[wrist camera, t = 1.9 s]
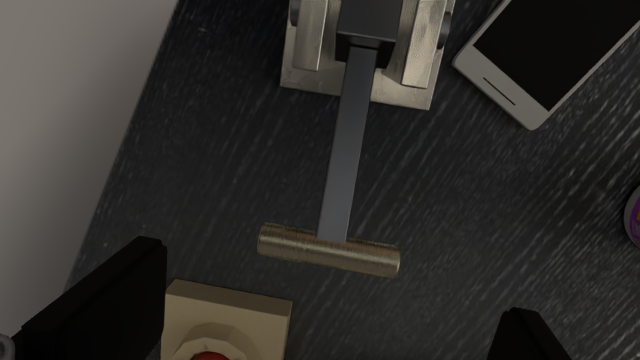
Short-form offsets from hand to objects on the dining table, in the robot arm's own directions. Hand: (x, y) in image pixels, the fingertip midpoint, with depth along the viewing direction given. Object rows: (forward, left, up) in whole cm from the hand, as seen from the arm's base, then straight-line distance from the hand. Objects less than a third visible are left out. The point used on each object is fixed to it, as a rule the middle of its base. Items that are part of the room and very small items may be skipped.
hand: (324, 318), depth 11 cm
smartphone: (+12, +13, -18) cm, 26 cm away
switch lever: (0, +4, -7) cm, 8 cm away
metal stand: (0, +8, -18) cm, 20 cm away
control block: (-7, -18, -18) cm, 26 cm away
